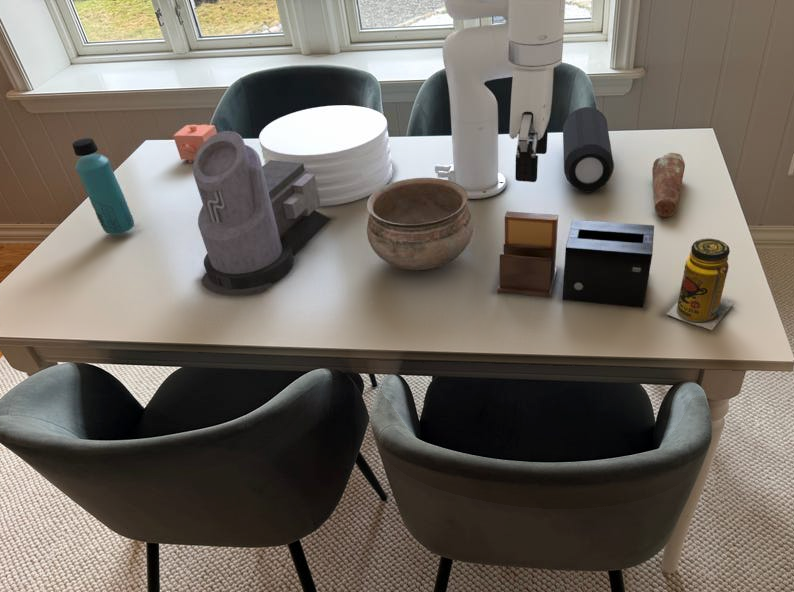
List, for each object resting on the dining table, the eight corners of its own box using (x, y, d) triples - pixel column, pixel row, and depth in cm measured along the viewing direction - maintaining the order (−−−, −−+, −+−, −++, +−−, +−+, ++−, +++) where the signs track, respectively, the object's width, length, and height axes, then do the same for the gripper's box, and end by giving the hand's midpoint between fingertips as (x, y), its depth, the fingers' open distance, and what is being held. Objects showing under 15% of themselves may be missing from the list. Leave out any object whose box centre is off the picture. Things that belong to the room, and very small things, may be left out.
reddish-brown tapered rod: (682, 177, 141) (687, 152, 137) (677, 221, 127) (682, 194, 124) (651, 175, 142) (655, 150, 139) (643, 218, 129) (647, 191, 125)
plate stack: (416, 163, 156) (411, 114, 148) (342, 216, 138) (332, 164, 131) (323, 145, 168) (315, 99, 161) (245, 191, 151) (231, 142, 143)
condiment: (665, 315, 105) (678, 249, 98) (688, 290, 110) (702, 225, 102) (711, 331, 102) (728, 264, 94) (733, 304, 106) (750, 238, 99)
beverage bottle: (144, 228, 141) (108, 135, 128) (121, 243, 136) (81, 149, 123) (121, 223, 143) (83, 132, 130) (98, 238, 139) (56, 145, 126)
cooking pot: (453, 305, 112) (450, 241, 104) (349, 292, 117) (338, 230, 109) (488, 231, 129) (487, 172, 122) (397, 223, 135) (390, 165, 127)
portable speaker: (612, 196, 137) (617, 149, 130) (562, 196, 138) (565, 150, 132) (604, 145, 156) (608, 102, 149) (561, 146, 157) (563, 103, 151)
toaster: (561, 303, 110) (564, 250, 103) (568, 270, 117) (572, 219, 111) (643, 311, 107) (652, 257, 100) (645, 277, 114) (654, 225, 107)
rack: (497, 292, 114) (496, 256, 109) (506, 266, 120) (506, 231, 115) (550, 297, 111) (552, 261, 107) (557, 270, 117) (559, 235, 113)
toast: (504, 273, 116) (504, 216, 109) (506, 267, 118) (506, 211, 111) (553, 277, 114) (556, 220, 107) (555, 271, 116) (558, 214, 109)
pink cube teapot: (175, 168, 164) (164, 135, 158) (198, 148, 172) (188, 117, 167) (204, 169, 162) (194, 136, 157) (226, 149, 171) (217, 117, 165)
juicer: (260, 302, 116) (221, 169, 101) (185, 288, 122) (138, 160, 106) (339, 220, 137) (317, 99, 121) (273, 211, 142) (244, 94, 127)
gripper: (519, 32, 100) (517, 142, 111) (496, 71, 88) (496, 190, 99) (570, 32, 98) (563, 144, 109) (553, 72, 86) (547, 194, 97)
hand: (531, 166), depth 104 cm, fingers open, 9 cm apart
